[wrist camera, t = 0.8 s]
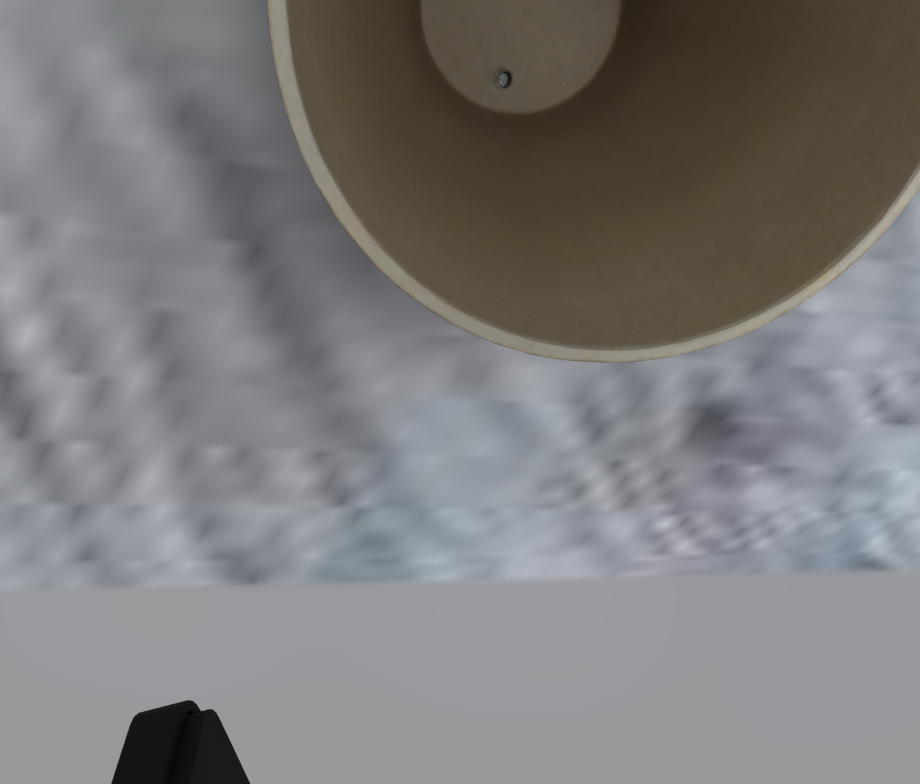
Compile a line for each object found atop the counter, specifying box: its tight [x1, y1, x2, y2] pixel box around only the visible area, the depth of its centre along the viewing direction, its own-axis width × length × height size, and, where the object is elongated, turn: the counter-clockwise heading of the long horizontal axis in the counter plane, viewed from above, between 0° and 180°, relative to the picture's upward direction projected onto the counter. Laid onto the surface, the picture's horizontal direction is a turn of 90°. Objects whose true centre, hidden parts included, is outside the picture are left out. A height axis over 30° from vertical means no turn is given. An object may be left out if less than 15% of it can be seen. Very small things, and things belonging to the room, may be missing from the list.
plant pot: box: [267, 0, 920, 363], centre depth 25 cm, size 15×15×16 cm
